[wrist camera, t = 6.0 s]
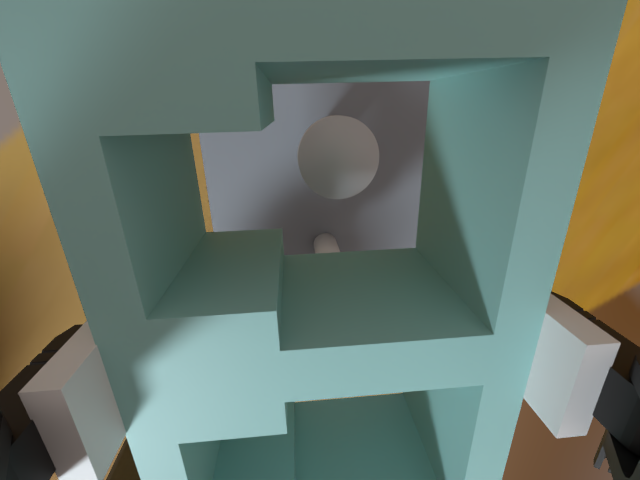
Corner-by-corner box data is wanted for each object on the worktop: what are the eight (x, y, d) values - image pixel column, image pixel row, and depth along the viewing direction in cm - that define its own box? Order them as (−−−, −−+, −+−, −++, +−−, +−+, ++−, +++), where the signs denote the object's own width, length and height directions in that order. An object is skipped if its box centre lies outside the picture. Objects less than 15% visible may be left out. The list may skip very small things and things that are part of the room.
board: (229, 308, 29) (205, 390, 21) (192, 48, 22) (130, 9, 13) (469, 291, 31) (540, 361, 22) (509, 45, 24) (637, 8, 15)
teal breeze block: (211, 428, 16) (174, 580, 11) (134, 43, 10) (-29, -26, 5) (424, 409, 17) (484, 543, 11) (469, 38, 11) (634, -26, 6)
